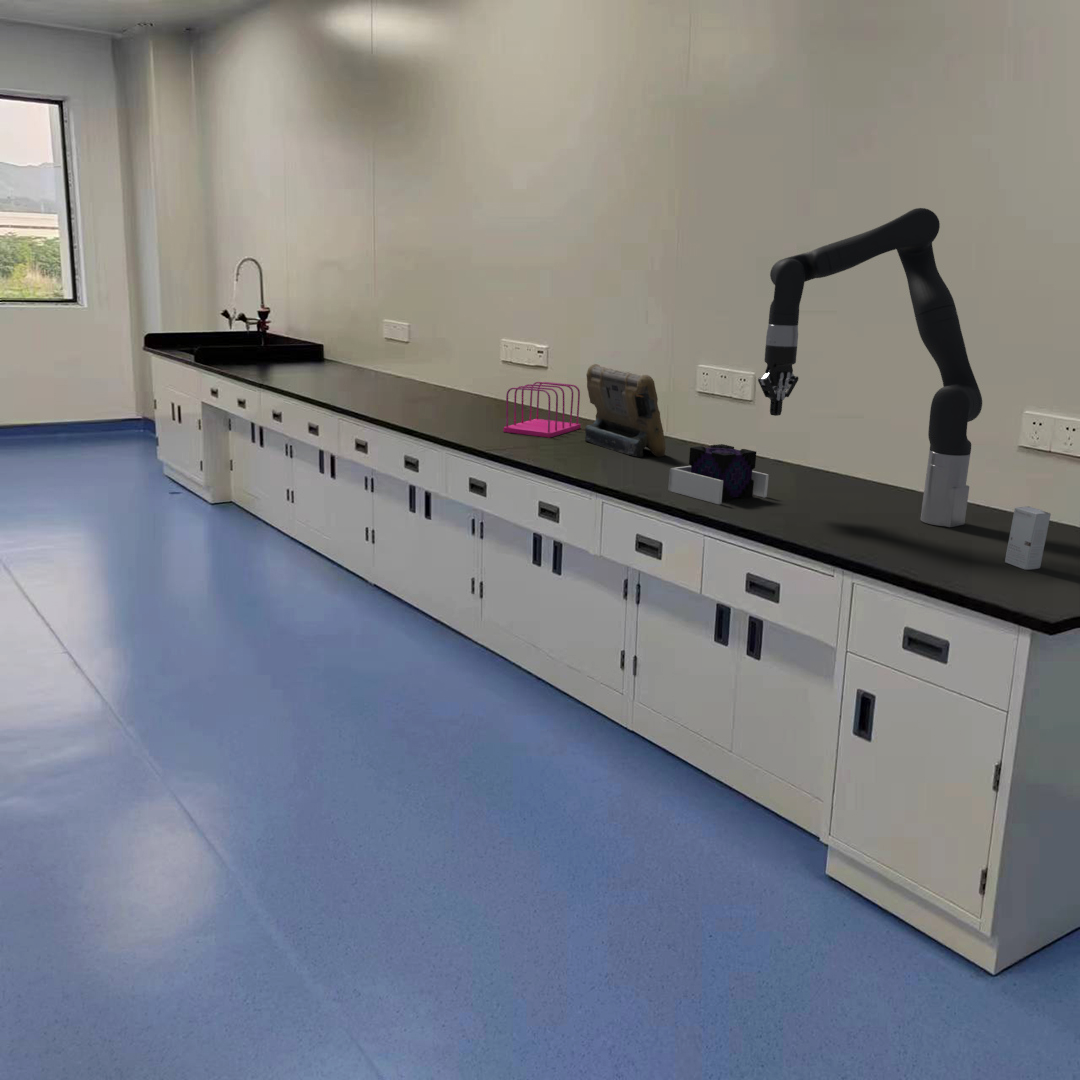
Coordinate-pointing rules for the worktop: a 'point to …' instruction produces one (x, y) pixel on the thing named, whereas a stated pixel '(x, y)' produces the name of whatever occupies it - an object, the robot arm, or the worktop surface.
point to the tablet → (624, 412)
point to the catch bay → (708, 484)
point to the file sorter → (537, 425)
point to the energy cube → (726, 468)
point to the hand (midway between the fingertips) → (775, 415)
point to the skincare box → (1027, 537)
